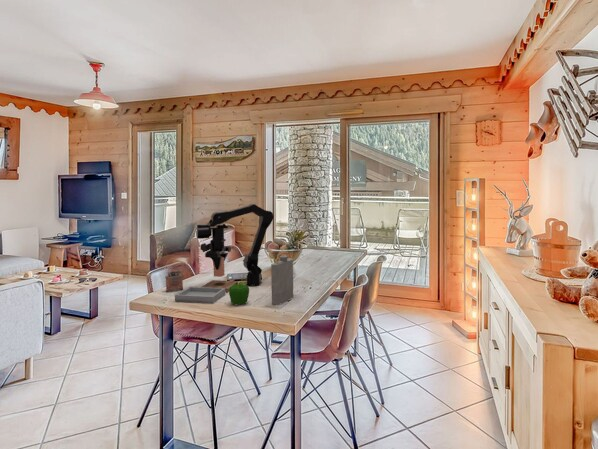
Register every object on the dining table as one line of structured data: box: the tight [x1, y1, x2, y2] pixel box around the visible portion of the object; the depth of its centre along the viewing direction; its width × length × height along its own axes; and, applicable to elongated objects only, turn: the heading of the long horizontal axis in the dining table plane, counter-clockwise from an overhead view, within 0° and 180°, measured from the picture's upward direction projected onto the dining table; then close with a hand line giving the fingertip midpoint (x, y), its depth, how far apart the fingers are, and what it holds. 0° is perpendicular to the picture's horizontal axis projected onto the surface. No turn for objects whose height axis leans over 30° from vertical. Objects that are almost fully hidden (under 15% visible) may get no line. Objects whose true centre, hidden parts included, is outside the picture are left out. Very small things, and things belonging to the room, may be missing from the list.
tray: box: [174, 286, 226, 305], centre depth 165 cm, size 18×14×3 cm
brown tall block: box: [212, 257, 225, 278], centre depth 180 cm, size 4×4×9 cm
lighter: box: [165, 269, 184, 293], centre depth 176 cm, size 8×3×10 cm, turn 118°
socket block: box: [201, 279, 239, 294], centre depth 181 cm, size 14×14×2 cm
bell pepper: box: [228, 280, 250, 306], centre depth 156 cm, size 8×8×10 cm
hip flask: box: [270, 254, 294, 306], centre depth 160 cm, size 16×4×20 cm, turn 152°
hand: (219, 268), depth 180 cm, fingers closed on brown tall block, 4 cm apart
